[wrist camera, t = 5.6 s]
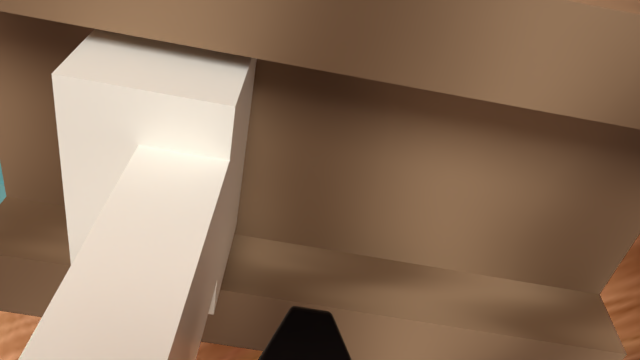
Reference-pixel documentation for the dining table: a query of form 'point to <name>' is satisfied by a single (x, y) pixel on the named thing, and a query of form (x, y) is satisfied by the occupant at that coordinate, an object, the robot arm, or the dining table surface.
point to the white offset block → (144, 195)
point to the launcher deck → (378, 166)
